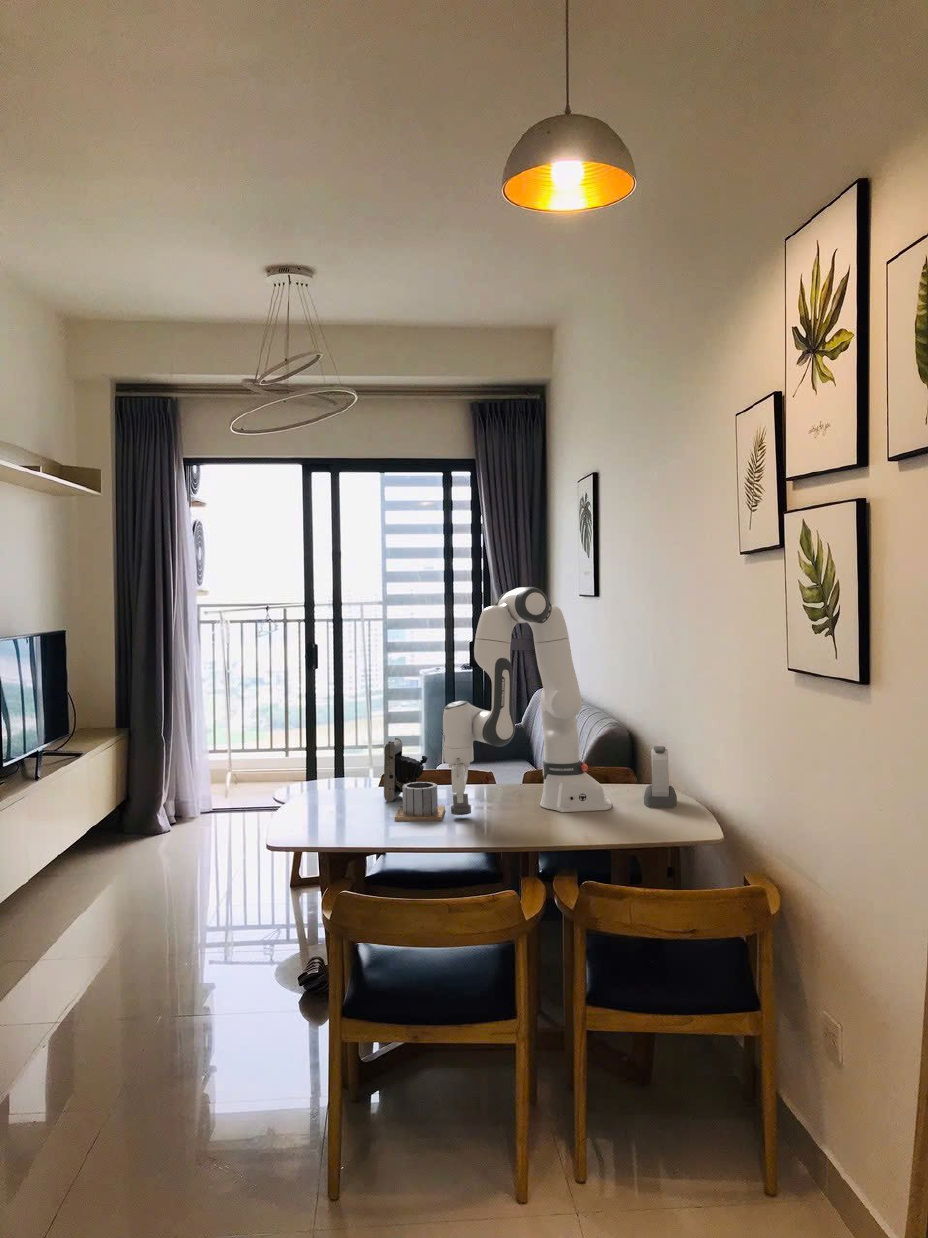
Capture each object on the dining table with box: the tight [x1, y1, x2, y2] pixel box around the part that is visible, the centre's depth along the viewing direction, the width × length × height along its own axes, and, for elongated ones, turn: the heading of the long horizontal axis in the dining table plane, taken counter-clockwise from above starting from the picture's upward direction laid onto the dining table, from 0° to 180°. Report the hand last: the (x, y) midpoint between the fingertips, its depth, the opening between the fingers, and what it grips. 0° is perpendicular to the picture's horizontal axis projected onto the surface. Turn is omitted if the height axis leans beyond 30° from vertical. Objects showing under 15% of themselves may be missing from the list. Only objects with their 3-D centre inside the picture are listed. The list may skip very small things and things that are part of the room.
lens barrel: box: [394, 781, 446, 822], centre depth 272 cm, size 14×14×9 cm
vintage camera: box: [383, 737, 429, 803], centre depth 294 cm, size 10×15×20 cm, turn 78°
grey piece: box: [643, 745, 678, 810], centre depth 281 cm, size 16×10×18 cm, turn 168°
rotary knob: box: [450, 793, 472, 816], centre depth 267 cm, size 6×6×6 cm
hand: (460, 801), depth 267 cm, fingers closed on rotary knob
